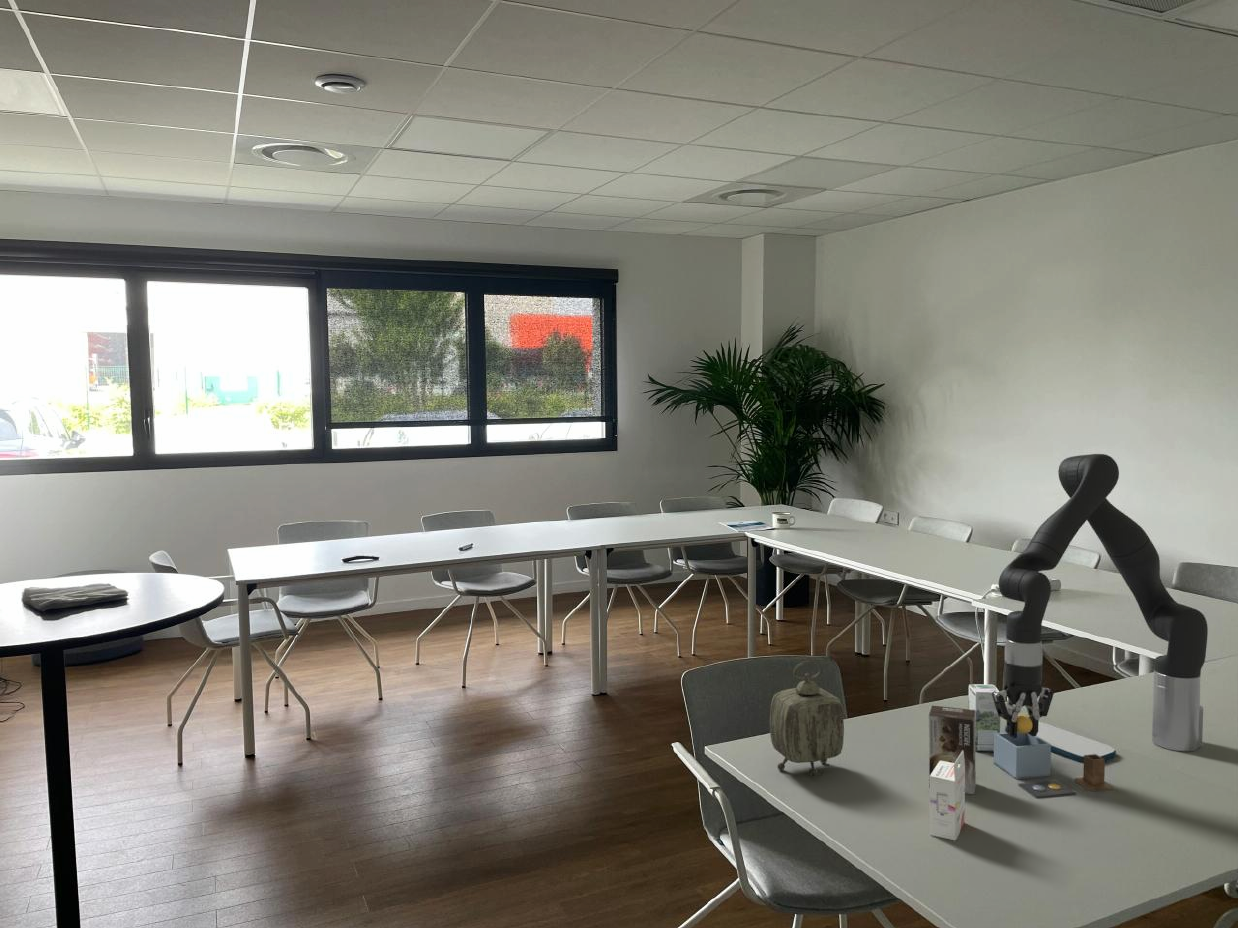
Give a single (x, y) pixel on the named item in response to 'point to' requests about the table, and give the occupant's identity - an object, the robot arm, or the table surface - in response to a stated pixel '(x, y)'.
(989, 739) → the syrup box
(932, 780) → the ink cartridge box
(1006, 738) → the blue open box
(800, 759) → the tabletop clock
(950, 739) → the coffee box
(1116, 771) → the table surface
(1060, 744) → the white rounded slab
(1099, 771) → the brown square ball stand
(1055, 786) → the card
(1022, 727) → the ball amber
